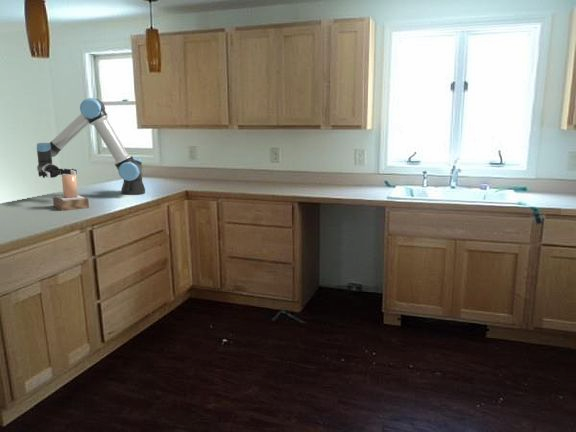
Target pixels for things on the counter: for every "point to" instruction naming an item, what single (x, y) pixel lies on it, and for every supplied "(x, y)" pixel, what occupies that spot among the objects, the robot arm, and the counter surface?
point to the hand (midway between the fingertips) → (62, 174)
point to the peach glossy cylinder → (69, 186)
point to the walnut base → (70, 203)
